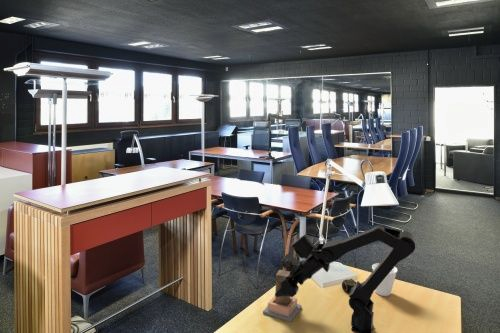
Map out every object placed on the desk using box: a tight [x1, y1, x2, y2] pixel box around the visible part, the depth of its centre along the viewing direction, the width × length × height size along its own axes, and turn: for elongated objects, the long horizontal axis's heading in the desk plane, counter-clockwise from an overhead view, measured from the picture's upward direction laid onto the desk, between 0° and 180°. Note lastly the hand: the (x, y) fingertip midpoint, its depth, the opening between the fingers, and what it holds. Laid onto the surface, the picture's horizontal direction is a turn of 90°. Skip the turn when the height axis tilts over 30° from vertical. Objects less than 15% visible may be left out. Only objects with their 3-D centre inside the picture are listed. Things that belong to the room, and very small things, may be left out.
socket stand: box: [262, 295, 302, 323], centre depth 141 cm, size 11×11×4 cm
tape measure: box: [341, 278, 357, 293], centre depth 157 cm, size 7×7×4 cm
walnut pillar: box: [274, 269, 291, 306], centre depth 140 cm, size 4×4×14 cm
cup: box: [371, 262, 398, 297], centre depth 155 cm, size 10×10×11 cm
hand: (279, 289), depth 141 cm, fingers open, 9 cm apart
